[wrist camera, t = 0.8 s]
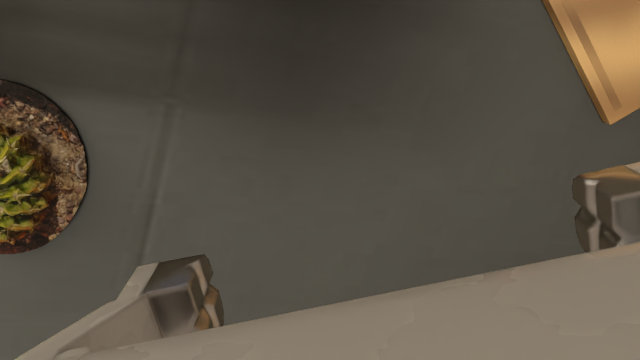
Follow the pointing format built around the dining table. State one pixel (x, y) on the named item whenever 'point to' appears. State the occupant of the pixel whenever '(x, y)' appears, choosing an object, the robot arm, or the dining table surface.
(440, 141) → the dining table surface
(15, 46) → the dining table surface
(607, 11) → the cutting board
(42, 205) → the cactus
